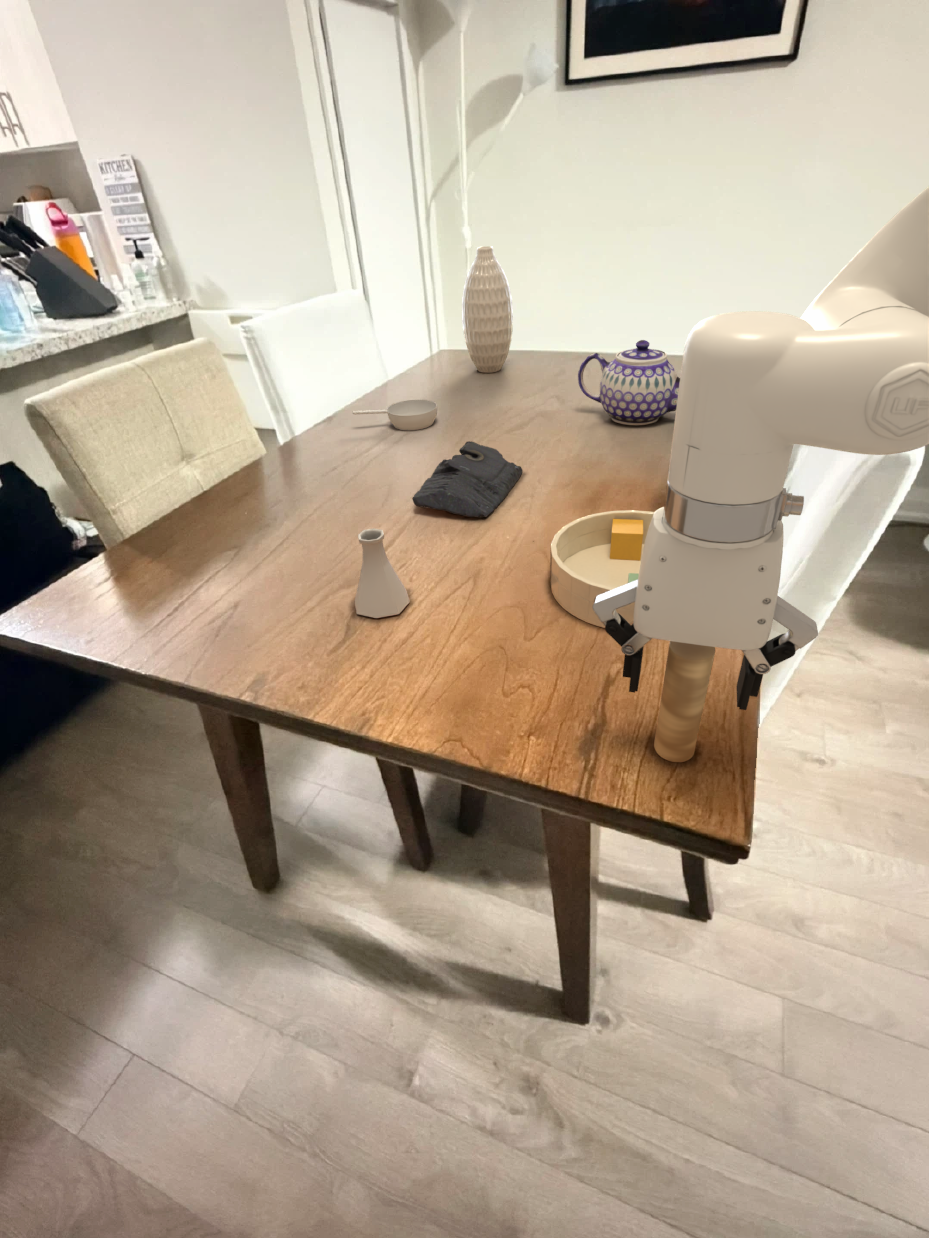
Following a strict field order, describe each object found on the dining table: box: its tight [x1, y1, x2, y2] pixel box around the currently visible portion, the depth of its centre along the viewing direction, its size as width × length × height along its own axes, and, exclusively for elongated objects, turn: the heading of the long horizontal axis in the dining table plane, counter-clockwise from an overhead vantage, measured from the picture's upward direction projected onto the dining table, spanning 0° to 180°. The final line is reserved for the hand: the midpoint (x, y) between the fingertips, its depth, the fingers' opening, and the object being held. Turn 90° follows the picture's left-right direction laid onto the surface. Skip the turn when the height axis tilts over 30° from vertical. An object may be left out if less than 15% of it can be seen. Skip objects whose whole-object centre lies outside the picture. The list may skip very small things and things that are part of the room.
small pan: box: [351, 398, 438, 431], centre depth 137 cm, size 11×18×4 cm, turn 97°
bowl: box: [549, 509, 655, 629], centre depth 81 cm, size 20×20×6 cm
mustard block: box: [610, 519, 643, 561], centre depth 86 cm, size 4×4×4 cm
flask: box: [354, 528, 411, 619], centre depth 80 cm, size 7×7×10 cm
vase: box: [461, 245, 514, 374], centre depth 161 cm, size 13×13×28 cm
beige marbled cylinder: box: [653, 641, 716, 763], centre depth 56 cm, size 4×4×12 cm
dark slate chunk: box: [412, 440, 524, 518], centre depth 108 cm, size 15×22×5 cm
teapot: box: [577, 339, 680, 426], centre depth 128 cm, size 25×15×15 cm, turn 61°
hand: (686, 689), depth 56 cm, fingers open, 8 cm apart
